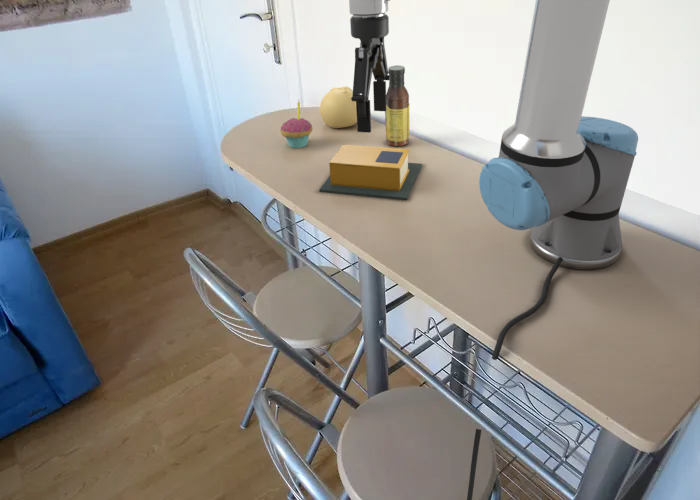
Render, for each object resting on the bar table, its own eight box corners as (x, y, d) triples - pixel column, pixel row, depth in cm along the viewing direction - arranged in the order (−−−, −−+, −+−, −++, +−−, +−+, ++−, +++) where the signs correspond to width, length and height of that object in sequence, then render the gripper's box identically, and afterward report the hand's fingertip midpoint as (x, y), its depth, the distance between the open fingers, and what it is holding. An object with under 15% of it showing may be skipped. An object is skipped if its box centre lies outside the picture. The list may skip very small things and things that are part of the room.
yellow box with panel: (330, 184, 119) (329, 162, 116) (344, 165, 127) (343, 144, 124) (399, 191, 115) (399, 167, 112) (409, 171, 123) (409, 148, 120)
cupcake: (296, 137, 146) (292, 94, 140) (320, 142, 142) (316, 98, 135) (276, 147, 141) (270, 103, 134) (300, 153, 136) (295, 108, 130)
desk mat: (406, 200, 112) (406, 197, 112) (319, 191, 118) (319, 189, 117) (421, 165, 126) (422, 163, 126) (343, 159, 132) (343, 157, 131)
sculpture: (370, 123, 153) (369, 86, 147) (339, 135, 146) (337, 96, 140) (343, 115, 160) (341, 79, 154) (313, 125, 153) (310, 88, 147)
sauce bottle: (393, 137, 143) (393, 62, 132) (413, 141, 140) (415, 64, 129) (380, 145, 138) (379, 68, 128) (401, 149, 135) (401, 71, 124)
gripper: (371, 26, 91) (375, 142, 102) (401, 4, 110) (401, 103, 122) (330, 27, 93) (338, 140, 104) (367, 4, 113) (370, 102, 124)
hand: (372, 120), depth 113 cm, fingers open, 13 cm apart
